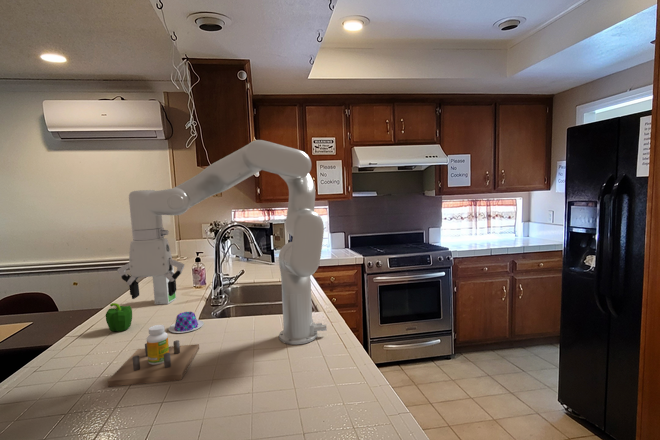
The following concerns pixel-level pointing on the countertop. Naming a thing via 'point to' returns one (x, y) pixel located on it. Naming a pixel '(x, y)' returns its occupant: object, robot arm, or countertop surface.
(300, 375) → the countertop surface
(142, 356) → the peg cradle
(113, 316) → the bell pepper
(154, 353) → the supplement bottle
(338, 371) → the countertop surface
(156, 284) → the skincare box
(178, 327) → the pudding
